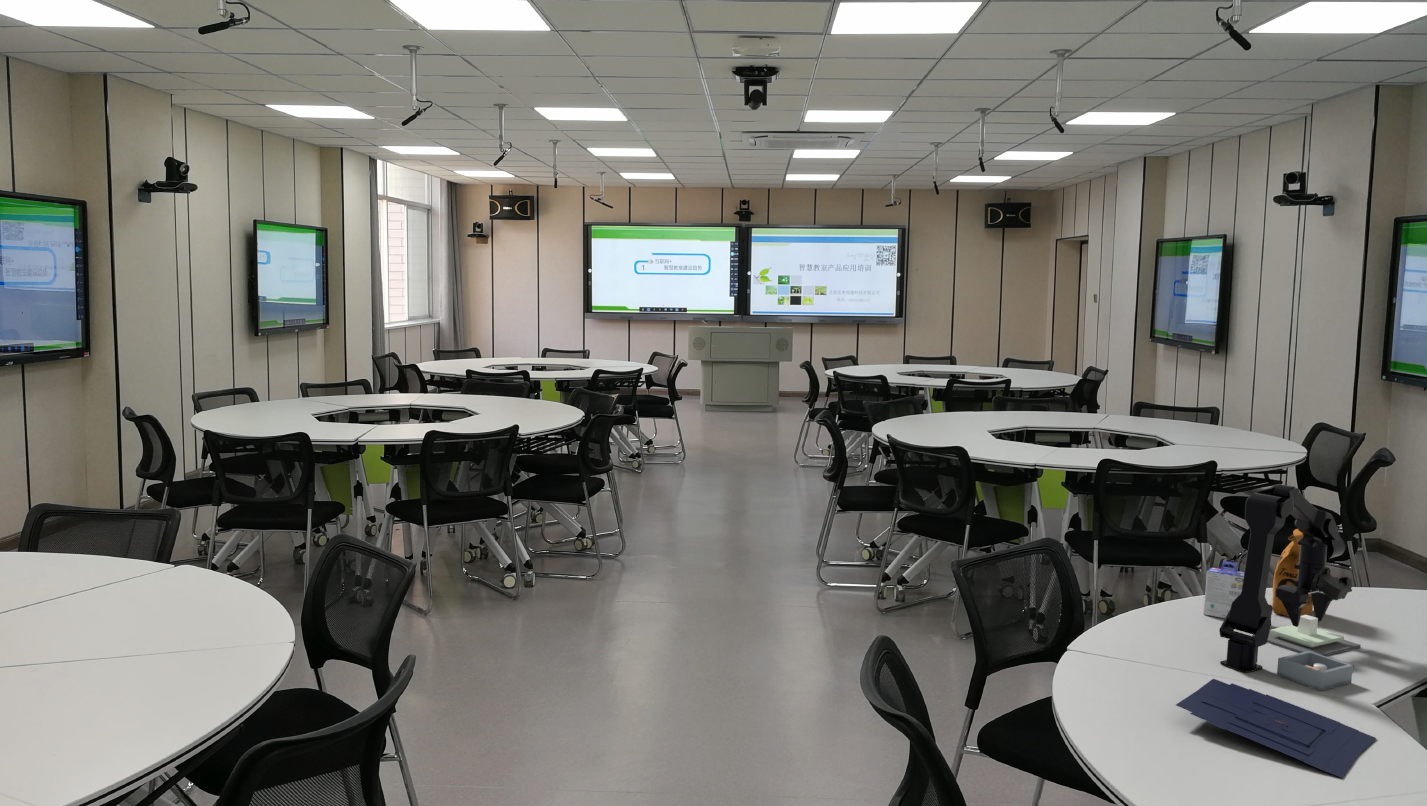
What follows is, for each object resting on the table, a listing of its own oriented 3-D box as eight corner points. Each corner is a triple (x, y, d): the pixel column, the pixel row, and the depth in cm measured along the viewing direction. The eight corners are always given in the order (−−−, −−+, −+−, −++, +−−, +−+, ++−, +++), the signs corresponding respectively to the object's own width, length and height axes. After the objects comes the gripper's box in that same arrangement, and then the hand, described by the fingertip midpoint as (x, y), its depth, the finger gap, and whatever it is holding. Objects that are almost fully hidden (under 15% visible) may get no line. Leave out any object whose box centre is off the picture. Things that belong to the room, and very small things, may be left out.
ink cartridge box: (1247, 617, 269) (1252, 564, 268) (1243, 622, 265) (1248, 568, 263) (1207, 610, 275) (1211, 557, 274) (1202, 615, 271) (1206, 562, 269)
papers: (1214, 688, 217) (1217, 672, 217) (1373, 750, 197) (1378, 733, 196) (1168, 720, 200) (1172, 703, 200) (1338, 792, 180) (1342, 774, 179)
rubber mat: (1314, 658, 239) (1315, 656, 239) (1252, 637, 254) (1252, 635, 253) (1360, 647, 248) (1360, 644, 247) (1297, 627, 262) (1297, 625, 262)
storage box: (1320, 691, 219) (1322, 673, 219) (1276, 675, 228) (1278, 658, 228) (1351, 682, 224) (1352, 665, 224) (1307, 667, 233) (1308, 650, 233)
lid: (1313, 650, 243) (1315, 627, 242) (1269, 636, 252) (1271, 614, 252) (1343, 643, 248) (1345, 620, 248) (1300, 629, 258) (1301, 607, 257)
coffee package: (1265, 613, 273) (1271, 533, 271) (1275, 602, 283) (1281, 525, 280) (1307, 621, 267) (1313, 539, 264) (1316, 610, 276) (1322, 531, 274)
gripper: (1321, 574, 237) (1315, 639, 239) (1368, 566, 245) (1363, 628, 247) (1276, 563, 247) (1271, 625, 248) (1323, 555, 255) (1318, 615, 257)
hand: (1307, 623), depth 250 cm, fingers open, 9 cm apart
